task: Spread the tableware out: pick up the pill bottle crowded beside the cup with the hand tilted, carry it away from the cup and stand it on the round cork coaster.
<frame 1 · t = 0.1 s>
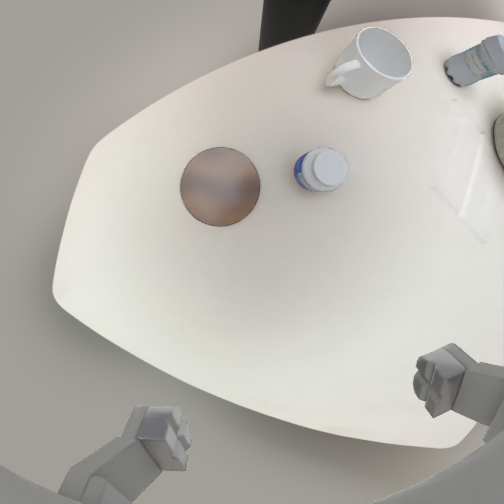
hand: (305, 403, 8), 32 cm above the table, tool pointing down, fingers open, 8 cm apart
pill bottle: (311, 172, 37), on the table
coaster: (219, 186, 37), on the table
cup: (348, 80, 34), on the table
bottle: (453, 73, 33), on the table
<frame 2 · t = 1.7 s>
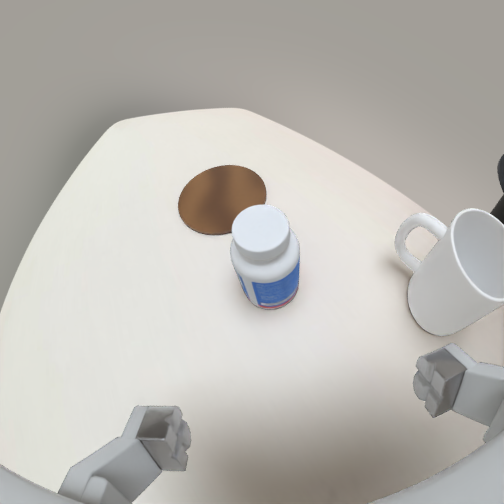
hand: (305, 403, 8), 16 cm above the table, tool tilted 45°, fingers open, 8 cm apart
pill bottle: (270, 285, 27), on the table
coaster: (221, 197, 34), on the table
cup: (425, 290, 25), on the table
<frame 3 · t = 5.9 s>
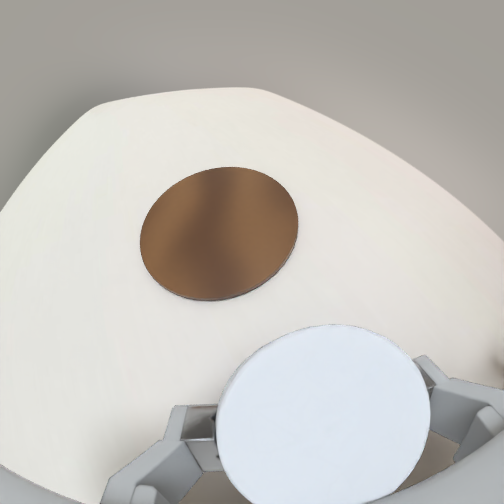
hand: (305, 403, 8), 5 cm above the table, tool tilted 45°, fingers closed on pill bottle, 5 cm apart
pill bottle: (299, 414, 12), on the table, touching gripper
coaster: (215, 224, 19), on the table
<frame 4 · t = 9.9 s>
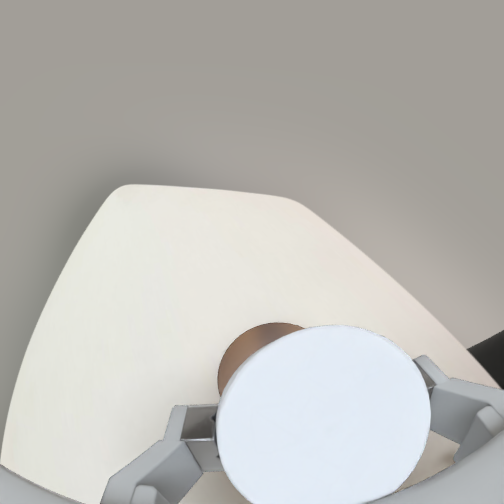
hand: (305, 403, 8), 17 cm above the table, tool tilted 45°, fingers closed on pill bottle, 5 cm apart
pill bottle: (299, 415, 12), point 12 cm above the table, touching gripper
coaster: (276, 378, 24), on the table
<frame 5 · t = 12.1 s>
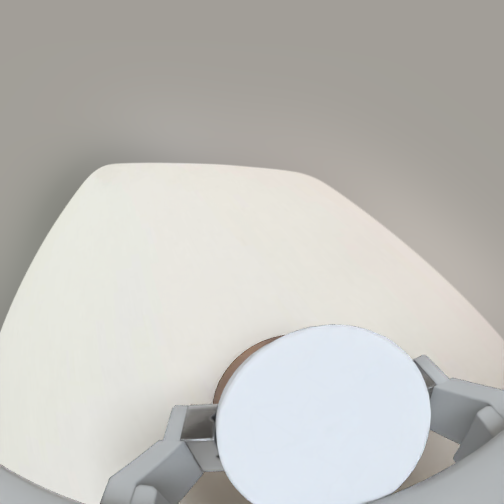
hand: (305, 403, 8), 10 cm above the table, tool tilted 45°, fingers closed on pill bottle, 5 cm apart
pill bottle: (299, 414, 12), point 5 cm above the table, touching gripper
coaster: (294, 411, 16), on the table
when the fingers open (6 cm above the table, at t = 13.8 s): pill bottle stays where it is, resting on coaster.
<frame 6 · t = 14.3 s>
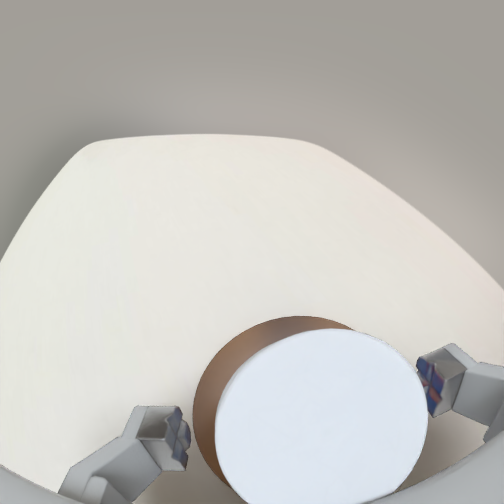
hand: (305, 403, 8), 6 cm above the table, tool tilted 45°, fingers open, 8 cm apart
pill bottle: (299, 415, 12), resting on coaster
coaster: (298, 414, 12), on the table
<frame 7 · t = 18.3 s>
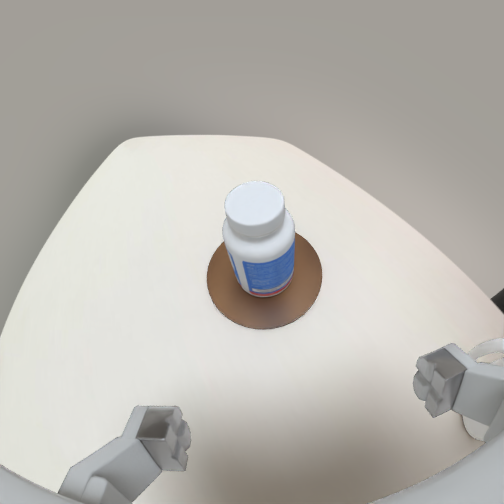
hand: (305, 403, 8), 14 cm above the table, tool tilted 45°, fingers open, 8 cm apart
pill bottle: (264, 273, 26), resting on coaster
coaster: (264, 273, 27), on the table
cup: (478, 393, 17), on the table
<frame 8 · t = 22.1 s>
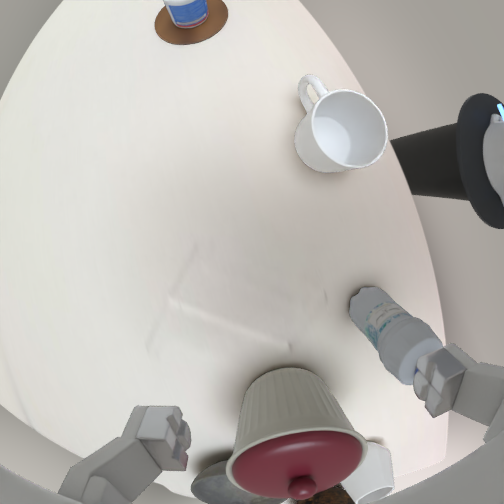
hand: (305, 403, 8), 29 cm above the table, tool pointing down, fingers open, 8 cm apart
pill bottle: (190, 17, 28), resting on coaster
coaster: (190, 17, 28), on the table
canister: (284, 391, 42), on the table
cup 2: (358, 452, 48), on the table
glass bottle: (320, 493, 52), on the table
bowl: (241, 468, 47), on the table
cup: (316, 130, 33), on the table
bottle: (364, 302, 39), on the table
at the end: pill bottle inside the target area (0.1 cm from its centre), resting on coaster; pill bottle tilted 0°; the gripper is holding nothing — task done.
